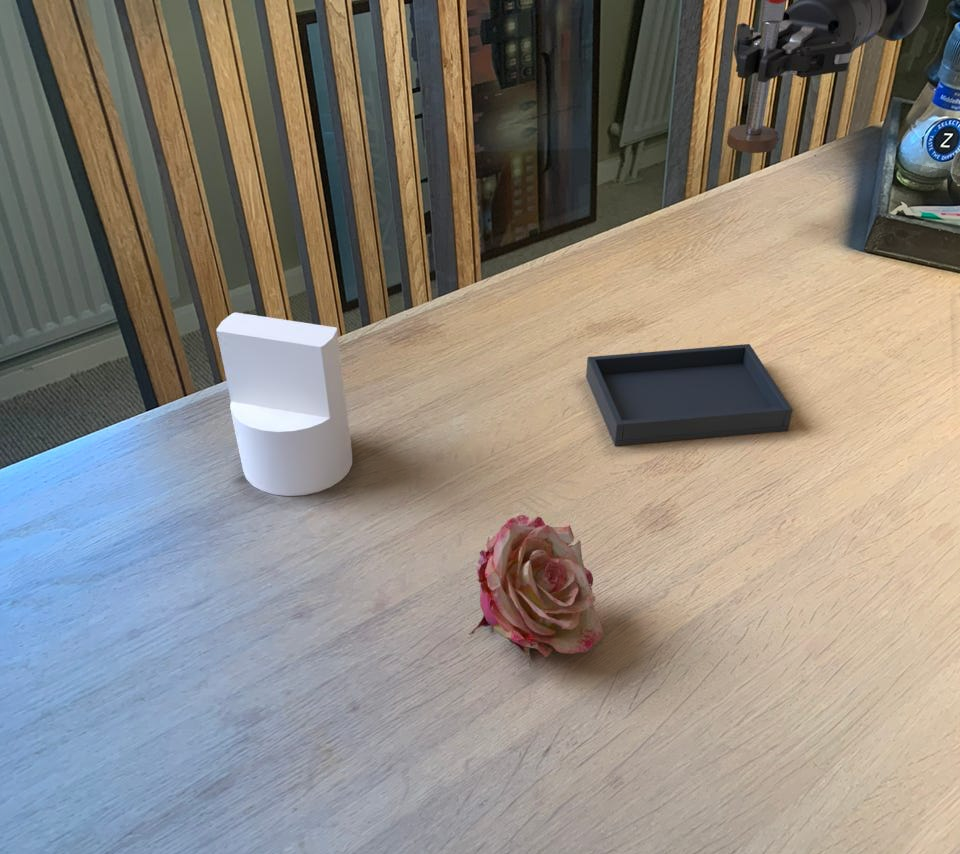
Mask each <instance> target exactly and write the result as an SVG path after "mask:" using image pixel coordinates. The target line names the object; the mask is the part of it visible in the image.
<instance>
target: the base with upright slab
mask: <svg viewBox="0 0 960 854" xmlns="http://www.w3.org/2000/svg"><path fill="white" fill-rule="evenodd" d="M215 332H216V337H217V341H218V347H219V351H220V355H221V361H222V366H223V369H224V376H225V380H226V385H227V389H228V395H229V399H230V405H229V408H230V413H231V419H232V422H233V428H234V433H235V438H236V443H237V447H238V453H239V457H240V462H241V466H242V471H243V474H244V477H245V479H246V480H247V481H248V483H250V485H251V486H252V487H254V488H256V489H258V490H260V491H261V492H264V493H268V494H271V495H275V496H284V497H296V496H298V497H299V496H306V495H312V494H316V493H320V492H321V491H324V490H327V489H330V488H332V487H333V486H335V485H337V483H339V482H341V481H342V480H343V479H344V478H345V477H346V476H347V475H348V474H349V472H350V470H351V468H352V466H353V449H352V442H351V432H350V425H349V424H350V423H349V415H348V406H347V397H346V392H345V386H344V377H343V369H342V361H341V351H340V343H339V334H338V327H337V326H336V327H335V326H328V325H323V324H316V323H308V322H302V321H297V320H289V319H282V318H275V317H268V316H263V315H262V316H261V315H257V314H256V315H255V314H248V313H241V312H236V311H235V312H233V313H231V314H229V315H228V316H226V317H225V318H224V319H223V320H222V321H221V322H220V323H219V325H218V326H217V328H216V331H215Z"/></svg>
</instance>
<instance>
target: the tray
mask: <svg viewBox="0 0 960 854" xmlns="http://www.w3.org/2000/svg"><path fill="white" fill-rule="evenodd" d="M585 378H586V381H587V383H588V386H589V387H590V390H591V392H592V395H593V397H594V400H595V402H596V404H597V408H598V409H599V412H600V414H601V416H602V419H603V421H604V424H605V426H606V429H607V431H608V434H609V436H610V438H611V441H612V442H613V446H614V447H618V446H620V447H621V446H631V445H642V444H653V443H664V442H675V441H688V440H696V439H697V440H698V439H707V438H708V439H710V438H719V437H730V436H731V437H733V436H742V435H754V434H764V433H776V432H787V431H789V428H790V423H791V420H792V415H793V411H794V410H793V408H792V405H790V403H789V401H788V399H786V397H785V395H784V393H783V392H782V391H781V389H780V388H779V386H778V384H777V383H776V382H775V380H774V379H773V377H772V376H771V374H770V372H769V371H768V370H767V368H766V367H765V365H764V364H763V362H762V360H761V359H760V358H759V356H758V354H757V352H755V350H754V348H753V346H751V344H750V343H744V344H732V345H731V344H730V345H718V346H708V347H705V346H704V347H695V348H682V349H671V350H669V349H668V350H658V351H656V350H655V351H646V352H644V351H643V352H632V353H631V352H630V353H621V354H619V353H618V354H608V355H607V354H606V355H597V356H596V355H595V356H587V360H586V372H585Z"/></svg>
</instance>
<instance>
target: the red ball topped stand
mask: <svg viewBox="0 0 960 854" xmlns="http://www.w3.org/2000/svg"><path fill="white" fill-rule="evenodd" d="M787 1H788V0H764V6H763V12H762V18H761V22H763V24H762V29H763V30H762V29H761V31H762V36H761V42H760V48H759V54H758V60H757V67H756V73H754V79H753V85H752V93H751V98H750V99H751V100H750V103H749V109H748V110H749V111H748V116H747V121H746V122H747V123H746V124H738V125H735V126H733V127H731V128H730V129H729V130H728V133H727V140H726V145H727V146H728V147H729V148H730V149H733V150H735V151H737V152H742V153H746V154H747V153H748V154H763V153H768V152H772V151H773V150H775V149H776V148H777V146H778V140H779V132H778V131H777V129H774V128H773V127H770V126H767V125H764V121H765V113H766V108H767V102H768V96H769V90H770V84H771V80H772V79H770V80H769V81H767V82H760V81H758V73H759V67H760V62H761V59H762V57H764V56H766V55H767V54H769V53H771V52H773V51H775V50H776V45H777V39H778V33H779V27H780V21H783V15H784V11H785V10H786V9H785V8H786V3H787Z"/></svg>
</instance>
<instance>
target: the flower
mask: <svg viewBox="0 0 960 854" xmlns="http://www.w3.org/2000/svg"><path fill="white" fill-rule="evenodd" d="M574 539H575V536H574V532H573V530H572V527H571V524H569V525H567V526H550V525H548V524H546V523H545V521H544V519H543V518H542V517H540V516H536V517H534V518H532V519H531V520H530V517H529V516H528V515H525V514H518V515H517V516H516V517H512V518H509V519H508V520H507V521H506V522H505V524H504V525H503V526H501V527H500V529H499V531H498V532H497V533H496V534H495V535H494V536H493V537H491V538H490V537H489V536H488V537H487V540H486V544H485V546H486V550H485V549H482V550H480V552H479V555H480V558H479V560H478V561H477V563H478V565H477V566H476V573H477V577H478V579H477V582H479V590H480V591H479V592H480V593H479V594H480V595H479V604H480V609H481V611H482V614H483V615H482V617H481V620H480V622H479V623H478V624H477V626H476V627H475V628H474V629H472V631H470V633H469V634H468V636H470V635H471V636H472V635H474V634H475V632H476V631H477V630H478V629H479V628H482V627H485V628H486V627H489V626H491V628H490V630H489V632H488V636H490V635H491V634H493V633H495V631H496V632H497V633H498V634H499V635H501V636H502V637H503V638H504V639H507V640H509V642H510V643H511V644H513V645H515V646H516V647H517V648H518V649H519V650H520V651H521V652H522V653H524V655H525V657H526V658H527V660H528V664H529V668H531V666H532V664H531V660H530V649H535V650H537V651H538V652H539V653H540V654H542V656H544V658H547V657H549V655H550V654H551V653H552V652H553V651H554V650H553V649H552V648H554V649H555V650H556V651H557V652H558V653H561V654H578V653H585V652H588V651H589V650H591V648H592V646H593V644H596V643H598V642H599V640H601V638H602V637H603V634H604V631H603V628H602V625H601V622H600V620H599V616H598V614H597V611H596V608H595V605H594V603H595V601H596V596H595V593H594V592H593V589H592V588H593V584H594V576H593V574H592V571H591V570H589V569H587V567H585V565H584V560H583V553H582V544H581V543H582V541H581V540H580V539H578V540H577V542H576V543H575V544H572V543H573V542H574ZM494 630H495V631H494ZM544 643H545V644H548V645H550V646H552V648H550V647H549V646H547V645H545V644H544Z"/></svg>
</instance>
